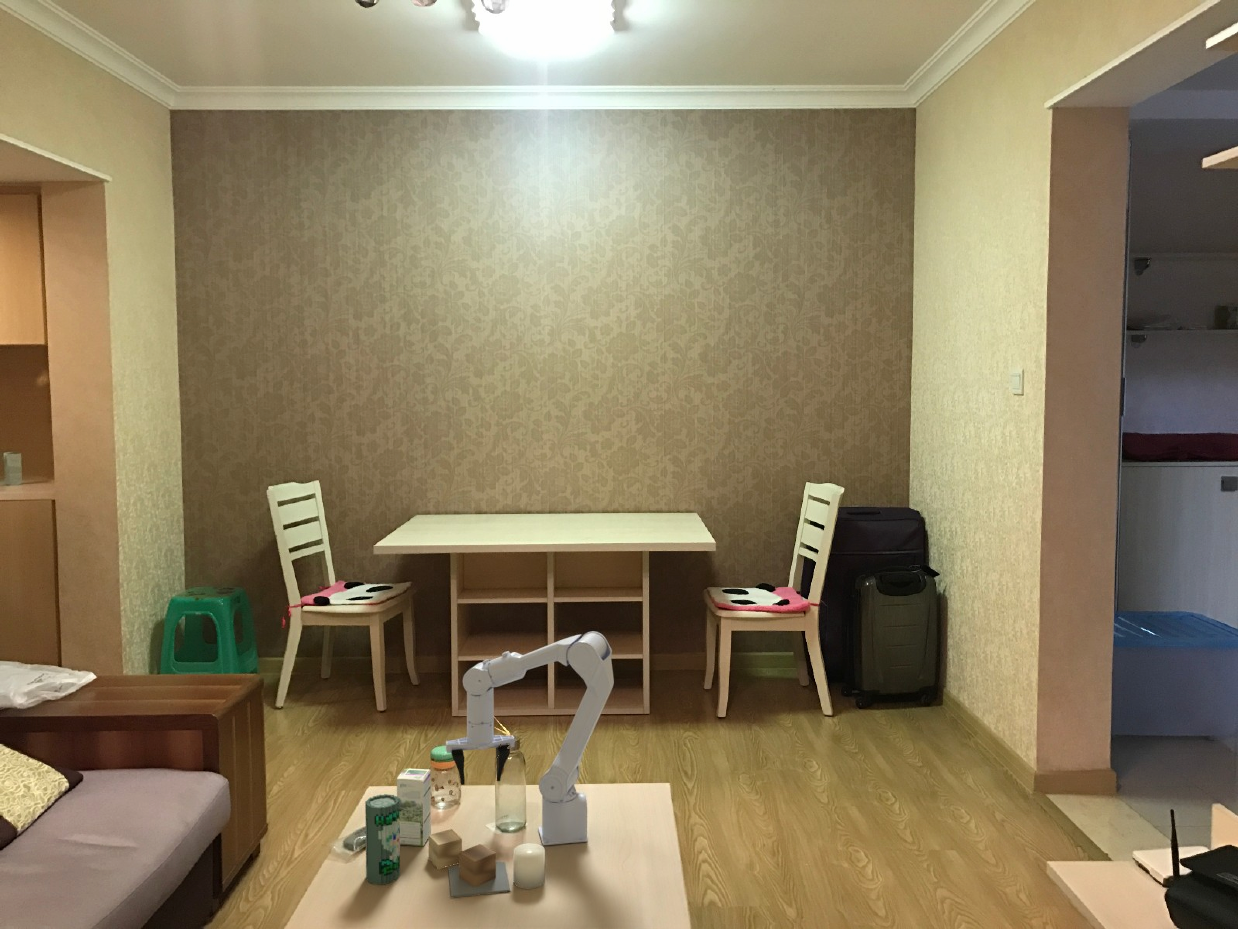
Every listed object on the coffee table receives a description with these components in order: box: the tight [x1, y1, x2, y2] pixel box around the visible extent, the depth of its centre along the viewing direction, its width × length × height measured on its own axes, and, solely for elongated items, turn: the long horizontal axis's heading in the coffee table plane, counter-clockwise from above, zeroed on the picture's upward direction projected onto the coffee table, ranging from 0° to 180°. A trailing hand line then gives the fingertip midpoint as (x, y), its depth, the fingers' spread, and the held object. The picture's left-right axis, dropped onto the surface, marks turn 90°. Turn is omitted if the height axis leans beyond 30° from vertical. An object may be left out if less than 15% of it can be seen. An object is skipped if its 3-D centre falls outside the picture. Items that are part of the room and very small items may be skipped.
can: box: [364, 793, 401, 886], centre depth 184 cm, size 6×6×15 cm
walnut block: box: [458, 843, 497, 887], centre depth 184 cm, size 5×5×5 cm
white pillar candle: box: [512, 842, 546, 890], centre depth 184 cm, size 6×6×6 cm
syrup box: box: [396, 768, 432, 847], centre depth 199 cm, size 6×6×14 cm
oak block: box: [428, 828, 463, 870], centre depth 191 cm, size 5×5×5 cm
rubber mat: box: [448, 861, 511, 899], centre depth 184 cm, size 11×11×1 cm
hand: (480, 781), depth 206 cm, fingers open, 7 cm apart
